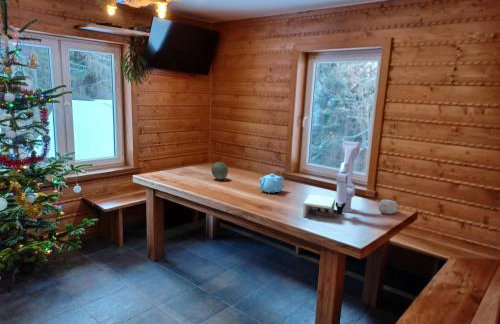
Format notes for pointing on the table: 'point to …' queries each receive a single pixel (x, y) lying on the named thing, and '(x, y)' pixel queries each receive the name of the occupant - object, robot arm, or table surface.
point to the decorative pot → (271, 183)
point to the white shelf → (317, 203)
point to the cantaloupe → (219, 170)
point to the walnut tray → (327, 212)
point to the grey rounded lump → (388, 207)
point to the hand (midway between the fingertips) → (339, 214)
